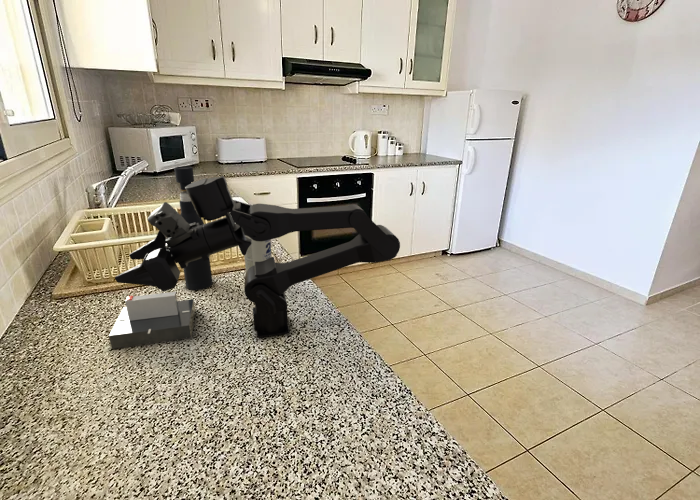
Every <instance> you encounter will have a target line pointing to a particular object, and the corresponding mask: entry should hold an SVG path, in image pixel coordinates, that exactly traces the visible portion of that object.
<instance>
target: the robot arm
mask: <svg viewBox="0 0 700 500" xmlns="http://www.w3.org/2000/svg"><path fill="white" fill-rule="evenodd" d="M185 189H186V191H187V193H188V195H189V197H190V199H191V201H192V204H193V206H194V208H195V210H196V212H197V214H198V216H199V217H200V218H202V220H203V221H207V223H204V224H203V225H199V223H196V222H194V223H191V224H188V223H187V222H186V221H185V219H184V218H183V217H182V216H181V215H180V214H181V213H179V211H177V210H176V209H175V208H174V207H173V206H172V205H171V204H170V203H168V202H166V201H165V202H163V203H161V205H159V206H158V207H157V208H156V209H154V210H153V211H152V212H150V214H149V216H148V217H147V222H148V223H149V224H150V225H151V226H152V227H155V228H156V229H157V230H158V231H157V234H156V237H154V238H152V239H151V240H150V241H148V242H146V243H145V244H143V245H142V246H140V247H138V248H137V249H136V250H133V251H132V252H131V253H129V254H128V256H129V259H131V260H132V261H133V260H135V261H136V260H142V262H141V263H139V264H137V265H135V266H133V267H131V268H129V269H127V270H125V271H123V272H121V273H119V274H118V275H115V277H114V279H115V282H116V283H118V284H127V285H138V286H139V285H140V286H147V287H155V288H156V289H157V290H160V291H161V292H162V293H166V292H167V291H171V290H173V289H176V287H177V285H178V283H179V279H180V276H181V274H182V273H181V270H183V268H186V267H187V265H188V263H189V262H191V261H194V260H197V259H200V258H202V259H203V261H206V260H209V258H210V257H211V256H212V255H215V254H217V253H220V252H223V251H227V250H229V249H232V248H235V247H238V248H239V250H240V253H241V256H244V255H246V252H247V250H248V248H249V246H250V245H251V244H252V240H254V241H267V240H274V239H279V238H281V237H284V236H286V235H288V234H291V233H295V232H307V231H308V232H309V231H325V230H340V229H354V230H355V231H356V232H357V235H356V236H355V237H354V238H353V239H351V240H350V241H347V242H345V243H341V244H338V245H335V246H333V247H330V248H327V249H324V250H320V251H318V252H314V253H311V254H308V255H305V256H303V257H300V258H297V259H294V260H291V261H288V262H276V260H275V257H274V256H272V257H271V258H268V259H266V260H264V261H261V262H255V265H254V266H252V267H250V268H249V269H248V271H247V272H246V271H245V274H244V291H243V292H244V296H245V297H246V299H247V300H248V301H249V302H250V303H253V304H254V307H252V308H251V309H252V321H253V330H254V331H255V332H256V337H257V338H258V339H261V338H263V339H264V338H269V337H276V336H282V335H289V334H290V333H291V329H290V326H289V316H288V315H289V314H288V301H287V296H286V291H287V290H289V289H290V288H291V287H292V286H294V285H297V284H299V283H302V282H305V281H309V280H311V279H314V278H317V277H320V276H324V275H327V274H329V273H331V272H335V271H338V270H340V269H344V268H346V267H349V266H352V265H355V264H358V263H363V264H364V263H365V264H366V263H368V264H376V263H382V262H388V261H391V260H393V259H395V258H396V257H397V256H398V254H399V251H400V248H401V242H400V240H399V238H398V236H396V235H395V234H394V233H393V232H392V231H391V230H390V229H389V228H387V227H386V226H385V225H382V224H376V223H375V222H374V221H373V220H372V219H371V218H370V217H369V216H368V215H367V213H366V211H365V210H364V209H362V208H361V206H359V205H357V204H352V203H351V204H349V205H339V206H337V205H335V206H321V207H301V208H300V207H299V208H289V207H284V206H280V205H276V204H266V203H253V204H249V203H246V202H242V201H239V200H235V199H233V196H232V194H231V192H230V190H229V187H228V182H227V180H226V177H225V175H220V176H216V177H215V176H213V177H209V178H207V177H204V178H201V179H199V180H196V181H194V182H191V184H189V185H187V186H186V187H185ZM242 228H243V229H244V230H245V233H246V234H247V236H249V237H250V238H251V239H252V240H251V239H249V238H247V237H245V235H244V232H243V230H242ZM210 259H211V258H210ZM177 264H178V265H179V267H180V268H179V267H178V265H177ZM180 269H181V270H180Z"/></svg>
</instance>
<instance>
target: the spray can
mask: <svg viewBox="0 0 700 500" xmlns="http://www.w3.org/2000/svg"><path fill="white" fill-rule="evenodd" d="M242 230H243V232H244V235H245V237H247V238H249V239H251V238H250V237H249V236H247V234H246V233H245V230H244V229H243V228H242ZM251 240H252V239H251ZM271 240H272V239H271ZM271 240H267V241H254V240H252V244H251V245H250V246H249V248H248V250H247V252H246V255H243V257H244V267H245V273H246V272H247V271H248V269H249V268H250V267H252V266H254V265H255V262H261V261H264V260H266V259H268V258H271V257H273V255H272V241H271Z"/></svg>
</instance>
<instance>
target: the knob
mask: <svg viewBox="0 0 700 500" xmlns="http://www.w3.org/2000/svg"><path fill="white" fill-rule="evenodd" d="M178 301H179V300H178V296H177V291H172V292H171V291H170V292H161V293H152V294H142V295H141V294H140V295H127V296H126V298H125V300H124V303H125V307H126V308H127V313H128V317H129V321H132V320H141V319H149V318H157V317H165V316H173V315H178V313H179V307H178Z"/></svg>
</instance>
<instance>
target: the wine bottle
mask: <svg viewBox="0 0 700 500" xmlns="http://www.w3.org/2000/svg"><path fill="white" fill-rule="evenodd" d="M173 169H174V176H175V182H176V183H177V184H179V188H180V189H179V190H180V191H181V192H179V199H180V200H179V201H178V203H179V208H180V213H179V214H180V215H181V216H182V217H183V218H184V219H185V221H186V222H187V223H188V224H191V223H194V222H196V223H199V225H203V224H205V223H204V219H203V218H200V217H199V216H198V214H197V212H196V210H195V208H194V206H193V204H192V201H191V199H190V197H189V195H188V193H187V191H186V189H185V187H186V186H187V185H189V184H191V183H193V182H195V176H194V168H193V166H188V165H187V166H185V165H184V166H182V165H181V166H176V167H174V168H173ZM210 259H211V258H209V260H206V261H203V259H202V258H200V259H197V260H194V261H191V262H189V263H188V265H187V267H186V268H183V269H182V270H183V276H184V283H185V287H186V289H187V290H190V291H202V290H206V289H208V288H211V286H212V285H213V283H214V282H213V275H212V266H211V260H210Z"/></svg>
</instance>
